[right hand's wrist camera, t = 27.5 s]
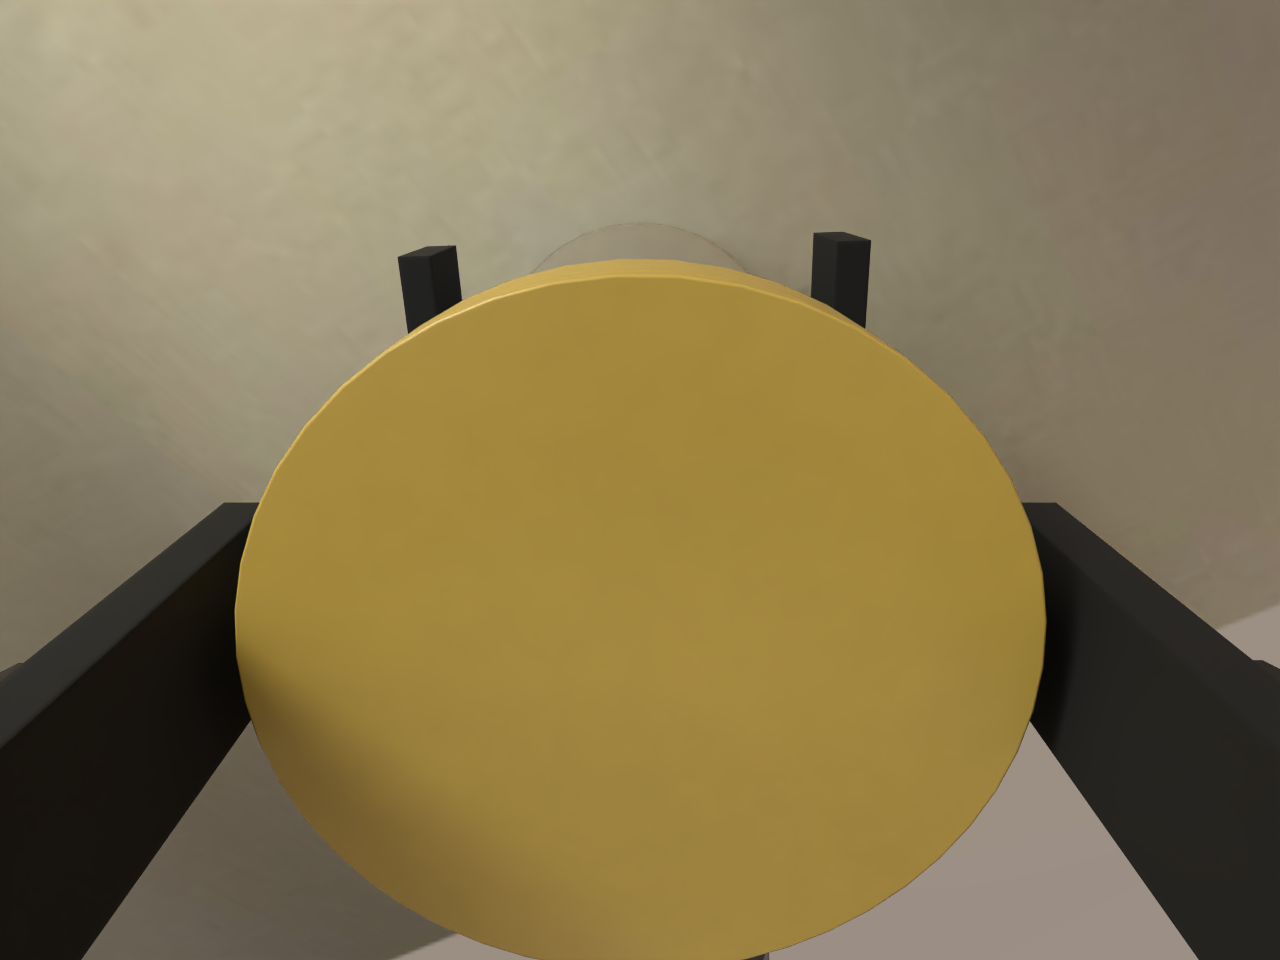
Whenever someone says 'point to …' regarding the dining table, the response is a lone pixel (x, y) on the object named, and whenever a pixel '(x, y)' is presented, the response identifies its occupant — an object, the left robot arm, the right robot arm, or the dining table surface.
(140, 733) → the right robot arm
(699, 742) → the lid
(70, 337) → the dining table surface
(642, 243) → the jar
